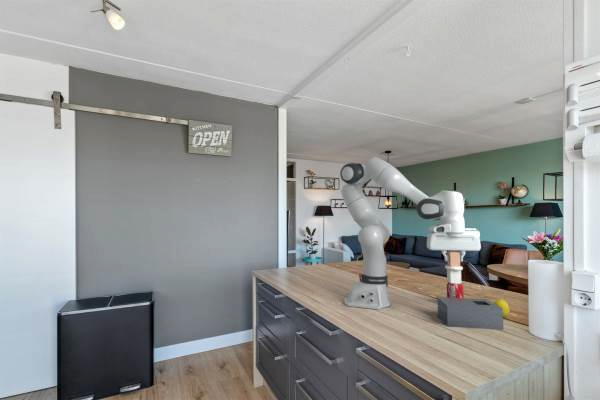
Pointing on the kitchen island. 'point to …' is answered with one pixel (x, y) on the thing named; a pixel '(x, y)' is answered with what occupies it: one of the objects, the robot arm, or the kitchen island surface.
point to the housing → (470, 313)
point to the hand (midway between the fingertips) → (453, 261)
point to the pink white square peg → (453, 267)
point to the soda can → (455, 290)
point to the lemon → (503, 305)
